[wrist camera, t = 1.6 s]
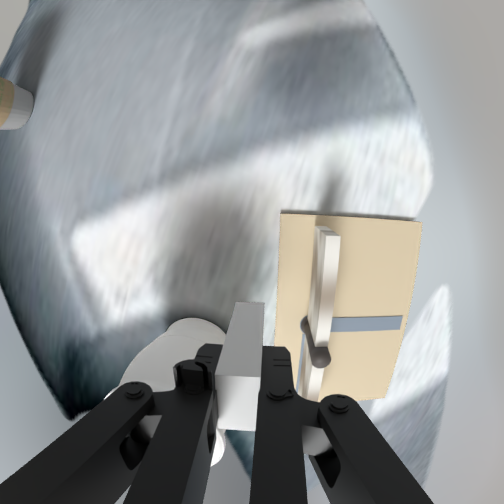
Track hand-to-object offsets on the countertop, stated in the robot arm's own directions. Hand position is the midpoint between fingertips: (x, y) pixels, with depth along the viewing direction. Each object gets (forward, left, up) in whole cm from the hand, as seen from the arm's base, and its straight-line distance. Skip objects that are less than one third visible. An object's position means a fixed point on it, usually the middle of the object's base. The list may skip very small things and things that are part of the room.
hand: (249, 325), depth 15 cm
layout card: (+7, +10, -15) cm, 20 cm away
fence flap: (+2, +6, -14) cm, 16 cm away
